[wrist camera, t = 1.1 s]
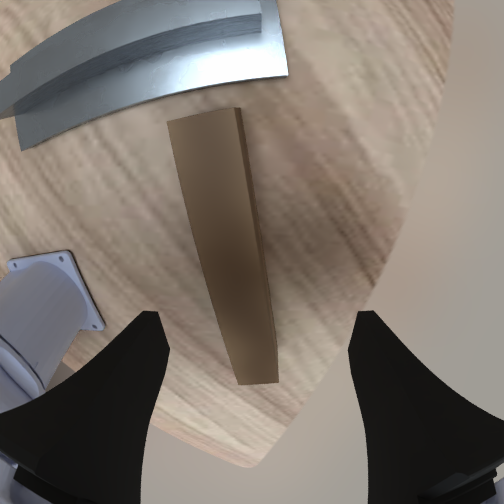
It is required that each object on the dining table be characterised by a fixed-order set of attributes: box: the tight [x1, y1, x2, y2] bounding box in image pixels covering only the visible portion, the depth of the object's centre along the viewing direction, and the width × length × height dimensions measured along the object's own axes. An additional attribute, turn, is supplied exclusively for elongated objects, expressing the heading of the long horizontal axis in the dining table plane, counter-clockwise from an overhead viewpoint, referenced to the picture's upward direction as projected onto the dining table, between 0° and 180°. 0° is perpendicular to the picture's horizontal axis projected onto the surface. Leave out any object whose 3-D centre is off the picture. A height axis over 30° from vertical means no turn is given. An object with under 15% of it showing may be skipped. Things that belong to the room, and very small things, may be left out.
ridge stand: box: [0, 0, 288, 151], centre depth 10 cm, size 18×7×5 cm, turn 97°
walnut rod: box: [167, 107, 279, 385], centre depth 17 cm, size 3×18×4 cm, turn 9°
